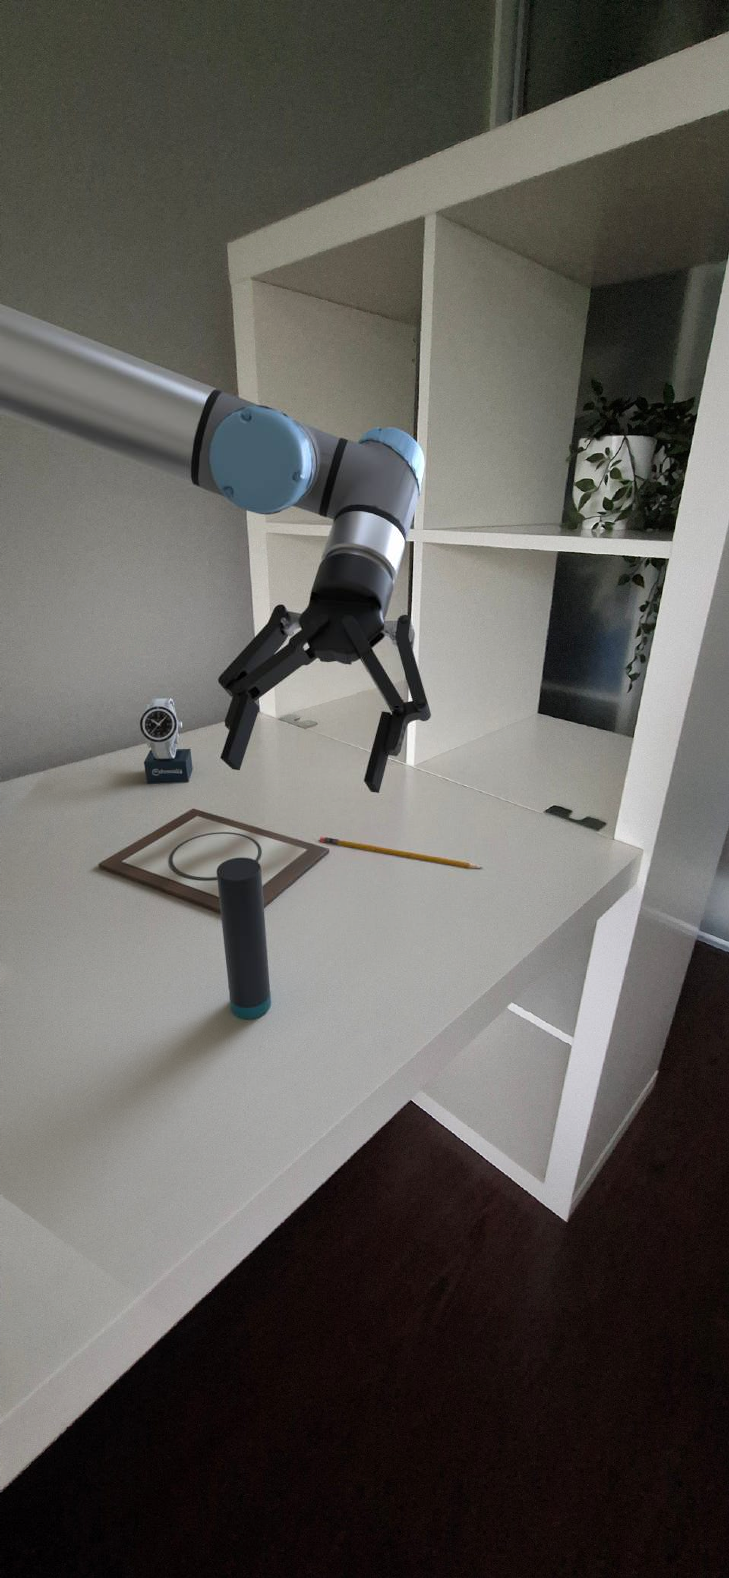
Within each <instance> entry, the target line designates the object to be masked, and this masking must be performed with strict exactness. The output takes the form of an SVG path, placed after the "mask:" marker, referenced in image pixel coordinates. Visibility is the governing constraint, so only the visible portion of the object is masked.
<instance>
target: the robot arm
mask: <svg viewBox="0 0 729 1578" xmlns="http://www.w3.org/2000/svg"><path fill="white" fill-rule="evenodd" d="M0 414H1V415H3V416H6V417H9V418H11V419H14V420H17V421H19V422H22V423H25V424H28V425H30V426H33V427H36V428H39V429H42V430H44V431H46V432H49V433H52V434H54V435H58V436H60V437H63V438H66V439H69V440H71V441H74V442H76V443H79V444H82V445H85V446H88V447H90V448H93V449H96V450H99V451H101V452H104V453H106V454H110V455H112V456H115V457H116V458H117V457H118V458H121V459H123V460H126V461H129V462H132V463H134V464H137V465H139V466H142V467H145V468H147V469H151V470H153V471H155V472H159V473H162V474H163V475H167V476H170V477H172V478H175V479H178V480H180V481H183V482H186V483H189V484H191V485H194V486H196V487H199V488H201V489H203V490H205V491H208V492H211V493H213V494H216V495H218V496H222V497H224V498H226V499H227V500H228V501H230V502H231V503H232V504H233V505H234V506H236V507H238V508H239V509H242V510H244V511H247V512H250V513H254V514H257V515H263V516H264V515H266V516H267V515H275V514H278V513H281V512H283V511H285V510H288V509H290V508H291V507H295V508H297V509H300V510H303V511H306V512H310V513H313V514H316V515H319V516H321V517H323V518H328V519H330V520H333V521H332V525H331V528H330V530H329V534H328V537H327V540H326V543H325V546H324V549H323V551H322V555H321V561H320V563H319V565H318V568H317V572H316V575H315V577H314V581H313V584H312V588H311V591H310V595H309V601H308V605H307V607H306V608H305V609H304V610H303V611H302V613H300V612H294V611H289V610H288V609H287V608H286V606H285V605H284V604H280V603H279V604H277V605H275V607H274V608H273V610H272V612H271V614H270V616H269V619H268V621H267V623H266V624H265V625H264V626H263V627H262V628H261V629H260V631H259V632H258V633H257V634H256V635H255V636H254V637H253V638H252V639H251V641H249V643H248V644H247V645H246V646H245V647H244V648H243V650H242V651H241V652H240V653H238V655H237V656H236V657H235V659H234V660H233V661H232V662H231V663H230V664H229V665H228V666H227V667H226V668H225V670H224V671H223V672H222V673H220V675H219V676H218V678H217V682H218V684H219V685H220V686H221V688H223V690H224V691H225V693H227V694H228V696H229V697H232V698H231V701H230V703H229V706H228V710H227V713H226V716H225V719H224V726H225V727H226V729H227V730H228V734H227V736H226V740H225V742H224V745H223V748H222V751H221V754H220V760H221V761H222V762H224V763H225V764H226V765H227V766H228V767H229V768H231V770H235V771H240V770H241V767H242V764H243V761H244V758H245V755H246V751H247V748H248V746H249V743H250V739H251V736H252V733H253V730H254V727H255V723H256V721H257V717H258V715H259V711H260V707H259V705H258V704H257V703H256V701H258V699H260V698H261V697H263V696H264V695H265V694H267V693H268V692H269V691H271V690H272V689H273V688H275V687H276V686H278V685H279V684H280V683H281V682H283V681H284V680H285V679H287V678H288V677H289V676H290V675H292V674H294V672H296V671H298V670H299V669H300V668H301V667H303V666H309V665H310V664H312V663H313V662H314V661H316V660H317V659H319V661H320V662H322V663H323V662H324V663H333V662H337V663H340V664H343V665H352V663H355V662H357V661H359V660H360V662H361V664H362V665H363V666H364V669H365V670H366V672H367V673H368V674H369V676H370V678H371V680H372V682H373V683H374V685H375V686H376V688H377V690H378V691H379V693H380V696H381V697H382V699H383V700H384V702H385V704H386V705H387V707H388V709H389V710H390V711H383V710H381V713H380V717H379V720H378V725H377V729H376V732H375V736H374V739H373V743H372V748H371V751H370V755H369V759H368V762H367V767H366V771H365V774H364V778H363V782H364V783H365V785H366V787H367V788H368V790H369V791H370V793H376V794H379V793H380V790H381V787H382V784H383V783H382V782H383V778H384V775H385V771H386V767H387V764H388V759H389V756H391V757H392V756H393V757H398V756H399V754H400V752H401V751H402V747H403V743H404V740H405V735H406V731H407V727H408V725H410V723H412V722H414V721H420V722H427V721H429V720H430V719H431V716H432V713H431V709H430V706H429V702H428V699H427V698H428V697H427V695H426V691H425V688H424V684H423V681H422V677H421V674H420V671H419V668H418V664H417V660H416V656H415V653H414V645H415V637H416V633H415V629H414V625H413V622H412V618H411V616H410V615H408V614H402V615H400V616H399V617H398V618H397V620H385V619H386V617H387V614H388V610H389V606H390V603H391V599H392V595H393V592H394V584H395V582H396V580H397V577H398V572H399V569H400V566H401V562H402V559H403V555H404V551H405V546H406V543H407V539H408V537H409V532H410V529H411V526H412V522H413V519H414V515H415V512H416V508H417V505H418V502H419V498H420V495H421V493H422V489H421V487H422V481H423V477H424V472H425V466H426V461H425V456H424V452H423V449H422V448H421V446H420V445H419V443H418V442H417V441H416V440H415V439H414V438H413V437H412V436H411V435H410V434H409V433H408V432H406V431H403V430H402V429H399V428H396V427H393V426H388V427H385V428H381V427H377V426H376V427H373V428H371V429H368V430H366V432H364V433H363V434H362V435H361V436H360V438H359V440H358V441H357V442H356V441H354V440H351V439H346V438H344V437H339V436H337V435H334V434H331V433H330V432H329V433H328V432H326V431H323V430H321V429H318V428H316V427H313V426H311V425H308V424H306V423H304V422H300V421H298V420H296V419H293V418H292V417H291V416H290V415H288V414H286V413H284V412H282V411H279V410H277V409H275V408H273V407H270V406H267V405H262V404H261V405H260V404H258V403H255V402H252V401H249V400H247V399H245V398H242V397H240V396H236V395H234V394H231V393H228V392H225V391H222V390H219V389H217V388H216V387H214V386H211V385H208V384H206V383H203V382H201V381H198V380H196V379H193V378H191V377H189V376H186V375H183V374H181V373H178V372H175V371H173V370H170V369H168V368H166V367H163V366H160V365H157V364H155V363H152V362H151V361H147V360H144V359H142V358H140V357H137V356H134V355H132V354H130V353H127V352H124V351H122V350H120V349H117V348H115V347H111V346H109V345H107V344H105V343H101V342H99V341H96V340H94V339H91V338H88V337H86V336H83V335H81V334H78V333H76V332H73V331H71V330H68V329H65V328H63V327H60V326H59V325H56V324H53V323H50V322H48V321H45V320H42V319H40V318H38V317H35V316H33V315H30V314H27V313H26V312H22V311H21V310H17V309H15V308H12V307H9V306H7V305H5V304H2V303H0ZM297 629H300V630H299V631H297V632H296V633H294V632H295V631H296V630H297ZM386 636H387V637H389V640H390V643H391V644H392V645H394V646H396V647H397V650H398V655H399V658H400V661H401V664H402V668H403V671H404V676H405V680H406V682H407V683H406V684H407V687H408V690H409V693H410V697H411V700H410V701H404V699H403V698H402V697H401V694H400V693H399V692H398V690H397V688H396V686H395V685H394V683H393V682H392V680H391V678H390V676H389V675H388V673H387V672H386V670H385V668H384V666H383V665H382V664H381V662H380V660H379V658H378V657H377V655H376V653H375V651H374V650H373V648H375V647H376V645H378V644H379V643H380V642H381V641H383V640H384V638H385V637H386ZM289 637H290V638H289ZM288 638H289V640H288V643H287V644H286V645H285V646H283V645H284V644H285V642H286V641H287V639H288ZM306 644H307V646H308V648H306V649H305V648H304V646H305V645H306ZM282 646H283V647H282ZM281 647H282V648H281ZM280 648H281V649H280Z"/></svg>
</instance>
